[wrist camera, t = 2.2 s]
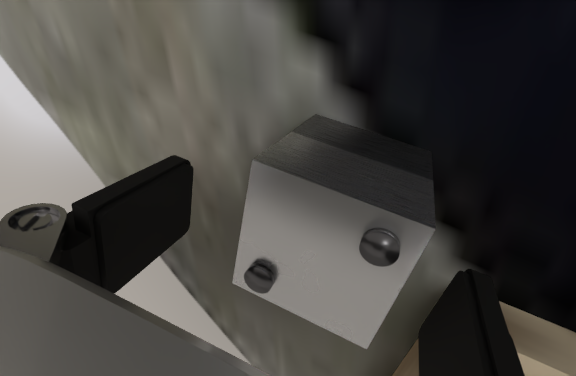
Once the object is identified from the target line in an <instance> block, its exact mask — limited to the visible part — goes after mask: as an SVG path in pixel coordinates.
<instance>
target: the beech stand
mask: <svg viewBox="0 0 576 376" xmlns="http://www.w3.org/2000/svg"><path fill="white" fill-rule="evenodd" d="M499 303H500V306H501V309H502V312H503V315H504V318H505V321H506V325H507V328H508V331H509V334H510V335H511V337H512V339H513V341H514V345H515V348H516V351H517V354H518V357H519V360H520V363H521V366H522V369H523V372H524V375H525V376H576V333H575V332H573V331H571V330H568V329H566V328H563V327H561V326H558V325H556V324H554V323H551V322H549V321H546V320H544V319H541V318H539V317H537V316H534V315H532V314H529V313H527V312H524V311H522V310H520V309H517V308H515V307H512V306H510V305H507V304H505V303H503V302H500V301H499ZM392 376H419V349H418V339H417V340H416V342H415V343H414V345H413V346H412V348H411V349H410V351H409V352H408V353H407V355H406V356H405V358H404V359H403V361H402V362H401V363H400V365H399V366H398V368H397V369H396V371H395V372H394V373H393V375H392Z"/></svg>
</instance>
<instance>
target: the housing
mask: <svg viewBox="0 0 576 376" xmlns="http://www.w3.org/2000/svg"><path fill="white" fill-rule="evenodd" d="M435 230H436V226H435V207H434V188H433V169H432V152H431V151H428V150H425V149H422V148H419V147H416V146H412V145H409V144H406V143H403V142H400V141H397V140H394V139H391V138H388V137H385V136H382V135H378V134H375V133H372V132H369V131H366V130H363V129H360V128H357V127H354V126H351V125H348V124H344V123H341V122H338V121H335V120H332V119H329V118H326V117H323V116H320V115H317V114H315V115H314V116H313V117H311V118H310V119H308V120H307V121H306V122H304V123H303V124H301V125H300V126H299V127H297V128H296V129H294V130H293V131H292V132H290V133H289V134H287V135H286V136H285V137H283V138H282V139H280V140H279V141H278V142H276V143H275V144H273V145H272V146H271V147H269V148H268V149H267V150H265V151H264V152H262V153H261V154H260V155H258V156H257V157H255V158H254V159H253V160H252V164H251V170H250V177H249V183H248V189H247V195H246V201H245V208H244V214H243V220H242V226H241V232H240V239H239V245H238V251H237V257H236V263H235V270H234V276H233V282H232V283H233V284H235V285H237V286H239V287H241V288H243V289H245V290H247V291H249V292H251V293H253V294H255V295H257V296H259V297H261V298H263V299H265V300H267V301H269V302H272V303H274V304H276V305H278V306H280V307H282V308H284V309H286V310H288V311H290V312H292V313H294V314H296V315H298V316H300V317H302V318H304V319H306V320H308V321H310V322H312V323H314V324H316V325H318V326H320V327H322V328H324V329H326V330H328V331H330V332H332V333H335V334H337V335H339V336H341V337H343V338H345V339H347V340H349V341H351V342H353V343H355V344H357V345H359V346H361V347H363V348H365V349H367V348H368V346H369V345H370V343H371V341H372V339H373V338H374V336H375V334H376V333H377V331H378V329H379V327H380V326H381V324H382V322H383V320H384V319H385V317H386V315H387V313H388V312H389V310H390V308H391V306H392V305H393V303H394V301H395V299H396V298H397V296H398V294H399V292H400V291H401V289H402V287H403V285H404V284H405V282H406V280H407V278H408V277H409V275H410V273H411V271H412V270H413V268H414V266H415V265H416V263H417V261H418V259H419V258H420V256H421V254H422V252H423V251H424V249H425V247H426V245H427V244H428V242H429V240H430V238H431V237H432V235H433V233H434V231H435Z"/></svg>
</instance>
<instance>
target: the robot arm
mask: <svg viewBox="0 0 576 376" xmlns="http://www.w3.org/2000/svg"><path fill="white" fill-rule="evenodd" d="M192 184H193V167H192V166H191V164H190V162H189V161H188V160H186V159H183V158H181V157H178V156H175V155H173V156H170V157H168V158H166V159H164V160H162V161H160V162H158V163H156V164H153V165H151V166H149V167H147V168H145V169H143V170H141V171H139V172H137V173H135V174H133V175H130V176H128V177H126V178H124V179H122V180H120V181H118V182H116V183H114V184H112V185H110V186H108V187H105V188H104V189H101V190H99V191H97V192H95V193H93V194H91V195H89V196H87V197H85V198H82V199H80V200H78V201H76V202H74V203H72V210H73V211H71V212H69V213H66V211H65V209H64V208H62V207H60V206H58V205H54V204H46V203H40V204H31V205H27V206H23V207H20V208H18V209H15V210H13V211H11V212H10V213H8V214H6V215H5V216H4V217H3V218H2V219H1V221H0V376H271V375H269V374H267V373H265V372H264V371H262V370H260V369H258V368H256V367H254V366H252V365H250V364H248V363H246V362H244V361H242V360H241V359H239V358H237V357H235V356H233V355H231V354H229V353H227V352H225V351H223V350H221V349H219V348H217V347H215V346H214V345H212V344H210V343H208V342H206V341H204V340H202V339H200V338H198V337H196V336H195V335H193V334H191V333H189V332H187V331H185V330H183V329H181V328H179V327H177V326H175V325H173V324H171V323H170V322H168V321H166V320H164V319H162V318H160V317H158V316H156V315H154V314H152V313H150V312H148V311H146V310H144V309H142V308H140V307H138V306H136V305H135V304H133V303H131V302H129V301H127V300H125V299H123V298H121V297H119V296H117V295H115V294H114V293H116V292H117V291H118V290H120V289H121V288H122V287H123V286H124V285H125V284H127V283H128V282H129V281H130V280H131V279H132V278H134V277H135V276H136V275H137V274H138V273H140V272H141V271H142V270H143V269H144V268H145V267H147V266H148V265H149V264H150V263H151V262H153V261H154V260H155V259H156V258H157V257H158V256H160V255H161V254H162V253H163V252H164V251H166V250H167V249H168V248H169V247H170V246H171V245H173V244H174V243H175V242H176V241H177V240H179V239H180V238H181V237H182V236H183V235H184V234H185V233H186V232H187V231H188V229H189V226H190V215H191V199H192ZM418 349H419V376H525V375H524V372H523V369H522V366H521V363H520V360H519V357H518V354H517V351H516V348H515V345H514V341H513V339H512V337H511V335H510V334H509V331H508V328H507V325H506V321H505V318H504V315H503V312H502V309H501V306H500V303H499V300H498V297H497V294H496V291H495V288H494V284H493V281H492V279H491V277H489V276H487V275H485V274H482V273H479V272H477V271H474V270H472V269H467V270H466V271H465V272H463V271H459V272H458V273H457V274H456V275H455V277H454V278H453V280H452V281H451V283H450V284H449V286H448V287H447V289H446V290H445V292H444V293H443V295H442V296H441V298H440V299H439V301H438V302H437V304H436V305H435V307H434V308H433V310H432V311H431V313H430V314H429V316H428V317H427V319H426V320H425V321H424V323H423V324H422V326H421V328H420V331H419V336H418Z"/></svg>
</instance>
